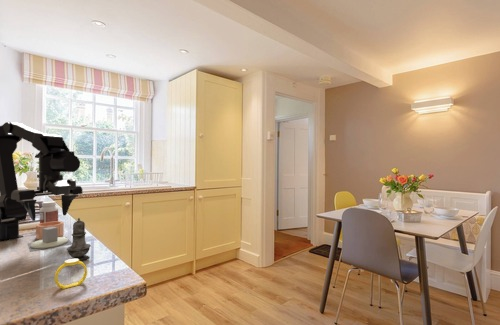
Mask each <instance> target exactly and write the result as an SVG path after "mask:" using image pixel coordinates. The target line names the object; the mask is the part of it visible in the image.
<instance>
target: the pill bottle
mask: <svg viewBox="0 0 500 325" xmlns="http://www.w3.org/2000/svg"><path fill="white" fill-rule="evenodd" d="M56 205H57V201H56V200H53V201H44V202H42V203H41V206H42V207H41V208H40V209H39V224H40V223H45V222H53V221H59V208H58V206H56Z"/></svg>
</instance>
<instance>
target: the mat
mask: <svg viewBox="0 0 500 325" xmlns="http://www.w3.org/2000/svg"><path fill="white" fill-rule="evenodd" d="M66 238H68V237H67V236H66ZM72 242H73V241H71V240H70V238H68V242H67V243H65V244H63V245H60V246H56V247H51V248H43V249H35V248H31V243H32V242H30V243H29V242H28V243H27V246H28V249H29V253H31V252H39V251H42V250H48V249H54V248H58V247H59V248H60V247H64V246H71V245H72Z"/></svg>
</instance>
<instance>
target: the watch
mask: <svg viewBox="0 0 500 325" xmlns="http://www.w3.org/2000/svg"><path fill="white" fill-rule="evenodd" d="M74 265H80V266H82V267H83V268H84V273H83V275H82V277H81V278H80V279H79V281H77V282H73V283H69V284H65V285H64V284H62V283H60V282H59V280H58V276H59V273H60V272H61V270H62V269H64V268H66V267H67V266H74ZM87 276H88V267H87V266H86V265H85V263H84V261H83V262H81V261H79V259H76V258H74V259H70V258H69V259H65V260H64V262H63V264H61V265H59V266H58V268H57V270H56V271H55V273H54V283H55V284H56V286H57V287H58V288H60V289H62V290H66V289H69V288H73V287H77V286H80V285H81V284H83V282H85V280H86V279H87Z"/></svg>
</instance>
